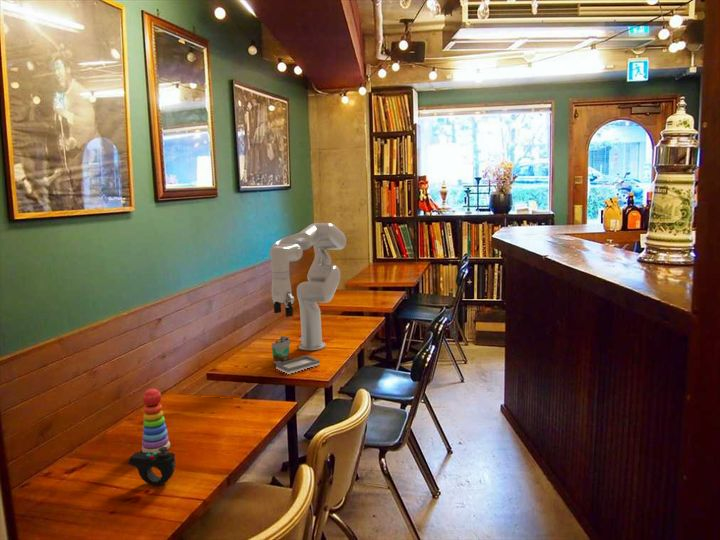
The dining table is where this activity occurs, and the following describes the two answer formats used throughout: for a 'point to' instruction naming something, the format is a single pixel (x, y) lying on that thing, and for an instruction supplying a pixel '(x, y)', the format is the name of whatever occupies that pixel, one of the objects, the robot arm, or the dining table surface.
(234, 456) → the dining table surface
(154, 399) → the stacking toy
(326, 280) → the robot arm
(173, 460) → the controller
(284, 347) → the food container
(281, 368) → the framed board
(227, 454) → the dining table surface
